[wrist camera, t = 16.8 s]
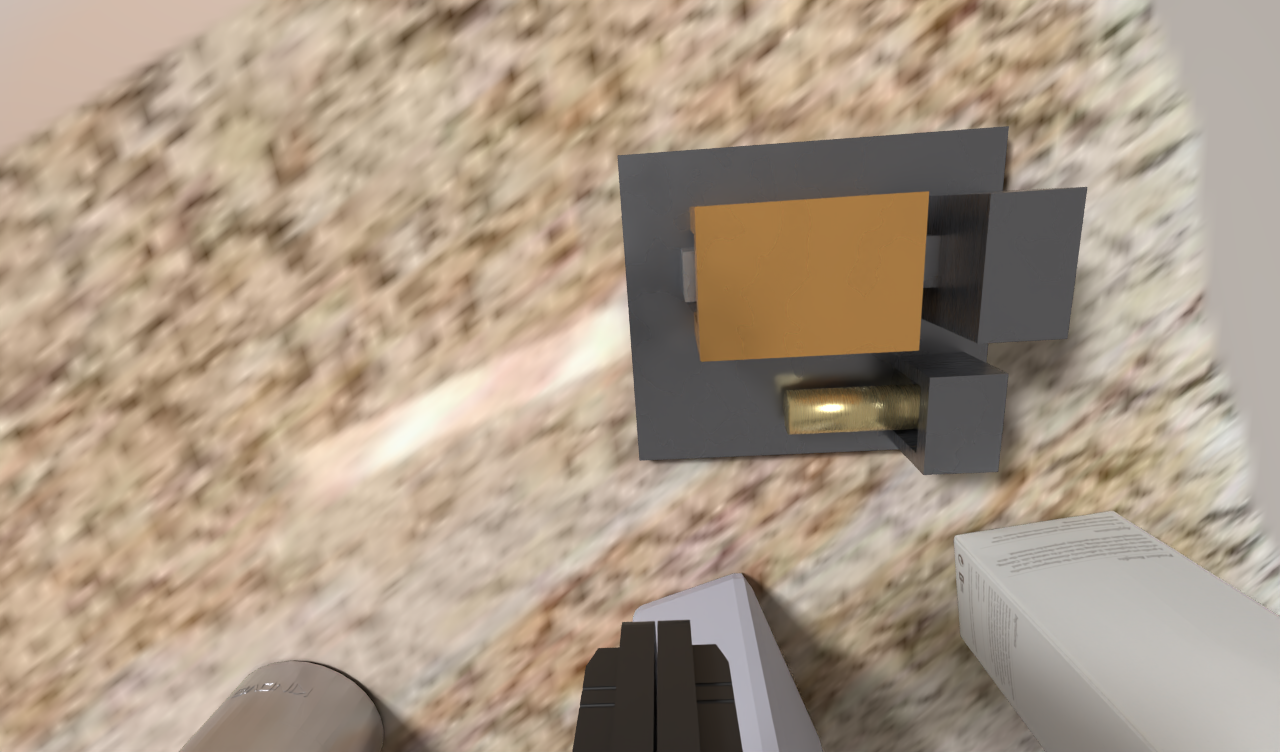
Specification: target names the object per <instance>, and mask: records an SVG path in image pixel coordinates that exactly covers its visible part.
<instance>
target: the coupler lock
mask: <svg viewBox="0 0 1280 752" xmlns="http://www.w3.org/2000/svg"><path fill="white" fill-rule="evenodd" d="M928 203H929V191H926V192H908V193H890V194H874V195H859V196H844V197H829V198H814V199H799V200H784V201H769V202H755V203H740V204H725V205H710V206H695V207H690V229H691V232H692V233H693V234H694V248H695V274H696V299H697V312H695V313H694V327H695V338H696V342H697V347H698V352H699V357H700V361H701V362H706V361H725V360H745V359H764V358H784V357H803V356H823V355H842V354H862V353H881V352H901V351H919V344H920V328H921V313H922V297H923V281H924V266H925V250H926V235H927V219H928Z"/></svg>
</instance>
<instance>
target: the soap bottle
mask: <svg viewBox="0 0 1280 752" xmlns="http://www.w3.org/2000/svg"><path fill="white" fill-rule="evenodd" d="M665 620H690V625H691V637H692V645H703V644H716V645H717V646H718V647H719V649H720V650H721V652H722V653H723V654H724V656H725V657H726V658H727V660H728V661H729V667H730V673H731V679H732V686H733V692H734V698H735V705H736V711H737V717H738V724H739V730H740V736H741V743H742V749H743V752H823V750H822V747H821V743H820V740H819V737H818V735H817V732H816V730H815V728H814V726H813V723H812V721H811V719H810V717H809V714H808V712H807V710H806V708H805V705H804V703H803V701H802V699H801V696H800V694H799V692H798V690H797V688H796V685H795V683H794V681H793V679H792V676H791V674H790V672H789V670H788V667H787V665H786V663H785V661H784V658H783V656H782V654H781V652H780V649H779V647H778V645H777V643H776V640H775V638H774V636H773V634H772V631H771V629H770V627H769V625H768V623H767V620H766V618H765V616H764V614H763V611H762V609H761V607H760V605H759V602H758V600H757V598H756V596H755V593H754V591H753V589H752V587H751V586H750V584H749V583H748V582H747V580H746V579H745V578H744V576H743V575H742V573H736V574H730V575H727V576H725V577H722V578H719V579H716V580H713V581H710V582H707V583H704V584H702V585H699V586H696V587H693V588H690V589H687V590H684V591H681V592H679V593H676V594H673V595H670V596H667V597H664V598H661V599H658V600H655V601H653V602H650V603H647V604H644V605H642V606H641V607H639V608H638V609H636V611H635V613H634V616H633V622H642V621H655V626H656V640H657V623H658V621H665Z"/></svg>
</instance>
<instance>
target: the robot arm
mask: <svg viewBox="0 0 1280 752" xmlns="http://www.w3.org/2000/svg"><path fill="white" fill-rule="evenodd" d="M383 735H384V730H383V726H382V721H381V717H380V715H379V713H378V711H377V709H376V707H375V705H374V703H373V702H372V701H371V699H370V698H369V697H368V695H367V694H366V693H365V692H364V691H363V690H362V689H361V688H360V687H359V686H357V685H356V684H355V683H354V682H353V681H351V680H350V679H348V678H347V677H345V676H343V675H342V674H340V673H339V672H336V671H334V670H332V669H329V668H327V667H324V666H321V665H317V664H313V663H309V662H299V661H286V662H277V663H273V664H270V665H267V666H264V667H261V668H259V669H257V670H256V671H254V672H252V673H251V674H249V675H248V676H247V677H246V678H245V679H244V680H243V681H242V682H241V683H240V685H239V686H238V687H237V688H236V689H235V690H234V691H233V692H232V693H231V695H230V696H229V697H228V698H227V699H226V700H225V701H224V702H223V703H222V705H221V706H220V707H219V708H218V709H217V710H216V711H215V712H214V713H213V715H212V716H211V717H210V718H209V719H208V720H207V721H206V722H205V723H204V724H203V726H202V727H201V728H200V729H199V730H198V731H197V732H196V733H195V734H194V735H193V736H192V737H191V738H190V740H189V741H188V742H187V743H186V744H185V745H184V746H183V747H182V749H181V750H180V751H179V752H380V751H381V748H382V745H383ZM573 752H743V749H742V743H741V736H740V730H739V724H738V717H737V711H736V705H735V698H734V692H733V686H732V679H731V673H730V667H729V661H728V660H727V658H726V657H725V656H724V654H723V653H722V652H721V650H720V649H719V647H718V646H717V645H716V644H703V645H692V637H691V625H690V620H665V621H658V623H657V640H656V626H655V621H642V622H622V627H621V638H620V648H598V650H597V651H596V653H595V654H594V656H593V657H592V658H591V660H590V661H589V663H588V664H587V666H586V670H585V676H584V682H583V691H582V695H581V701H580V708H579V714H578V720H577V726H576V733H575V739H574V745H573Z"/></svg>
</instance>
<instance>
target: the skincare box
mask: <svg viewBox="0 0 1280 752" xmlns="http://www.w3.org/2000/svg"><path fill="white" fill-rule="evenodd" d="M954 549H955V566H956V582H957V596H958V609H959V624H960V636H961V637H962V639H963V640H964V642H965V643H966V644H967V646H968V647H969V648H970V650H971V651H972V652H973V654H974V655H975V656H976V657H977V659H978V660H979V662H980V663H981V665H982V666H983V667H984V669H985V670H986V671H987V673H988V674H989V675H990V677H991V678H992V679H993V681H994V682H995V683H996V685H997V686H998V688H999V689H1000V690H1001V692H1002V693H1003V694H1004V696H1005V697H1006V698H1007V700H1008V701H1009V702H1010V704H1011V705H1012V706H1013V708H1014V709H1015V711H1016V712H1017V713H1018V715H1019V716H1020V718H1021V719H1022V720H1023V722H1024V723H1025V724H1026V726H1027V727H1028V728H1029V730H1030V731H1031V732H1032V734H1033V735H1034V737H1035V738H1036V739H1037V740H1038V742H1039V743H1040V745H1041V746H1042V747H1043V749H1044V750H1045V751H1046V752H1280V616H1279V615H1277V614H1276V613H1274V612H1273V611H1271V610H1269V609H1268V608H1266V607H1265V606H1263V605H1261V604H1260V603H1258V602H1257V601H1255V600H1254V599H1252V598H1250V597H1249V596H1247V595H1246V594H1244V593H1242V592H1241V591H1239V590H1238V589H1236V588H1234V587H1233V586H1231V585H1230V584H1228V583H1226V582H1225V581H1223V580H1222V579H1220V578H1218V577H1217V576H1215V575H1214V574H1212V573H1211V572H1209V571H1207V570H1206V569H1204V568H1203V567H1201V566H1199V565H1198V564H1196V563H1195V562H1193V561H1192V560H1190V559H1189V558H1187V557H1185V556H1184V555H1182V554H1181V553H1179V552H1178V551H1176V550H1174V549H1173V548H1171V547H1170V546H1168V545H1166V544H1165V543H1163V542H1161V541H1160V540H1158V539H1157V538H1155V537H1154V536H1152V535H1150V534H1149V533H1147V532H1146V531H1144V530H1143V529H1141V528H1139V527H1138V526H1136V525H1135V524H1133V523H1132V522H1130V521H1128V520H1127V519H1125V518H1123V517H1122V516H1120V515H1119V514H1117V513H1116V512H1114V511H1107V512H1101V513H1095V514H1088V515H1082V516H1075V517H1068V518H1062V519H1055V520H1049V521H1042V522H1036V523H1030V524H1023V525H1017V526H1010V527H1004V528H998V529H991V530H985V531H979V532H973V533H966V534H960V535H956V536H955V538H954Z"/></svg>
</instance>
